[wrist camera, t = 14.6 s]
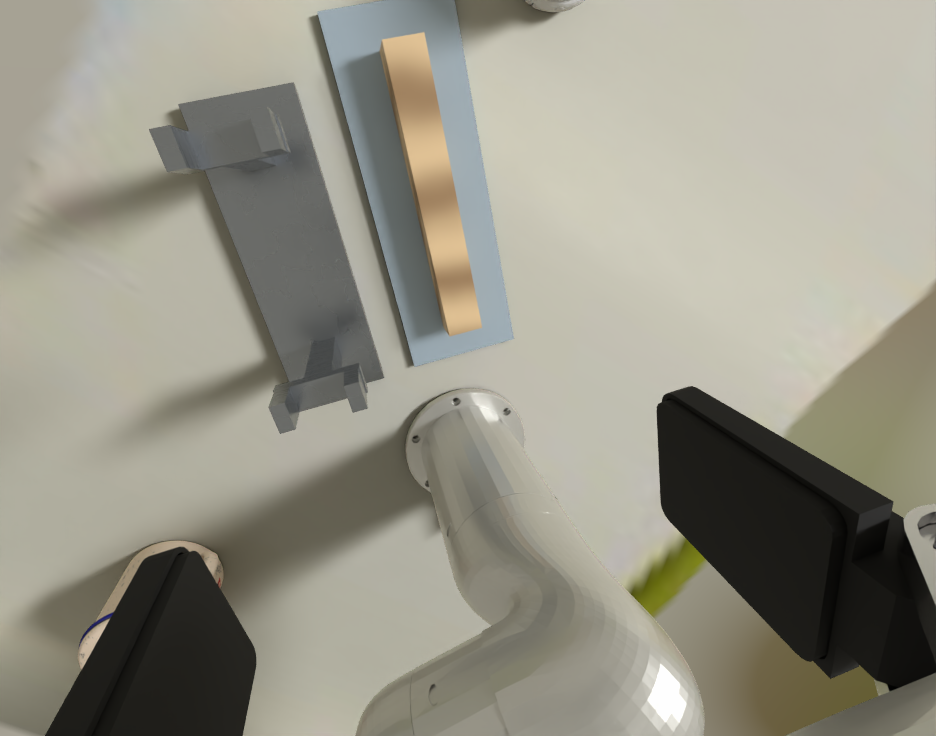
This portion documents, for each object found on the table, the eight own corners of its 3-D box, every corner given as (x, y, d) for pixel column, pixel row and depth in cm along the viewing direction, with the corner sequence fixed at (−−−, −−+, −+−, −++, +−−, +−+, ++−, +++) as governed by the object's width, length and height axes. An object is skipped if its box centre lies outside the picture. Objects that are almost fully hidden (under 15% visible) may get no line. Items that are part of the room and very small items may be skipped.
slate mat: (511, 337, 46) (513, 338, 45) (413, 364, 45) (414, 366, 44) (451, -9, 35) (452, -12, 34) (317, 14, 33) (317, 11, 33)
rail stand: (383, 373, 44) (395, 441, 32) (298, 397, 43) (279, 476, 31) (295, 85, 35) (266, 33, 23) (183, 107, 33) (93, 63, 22)
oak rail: (474, 319, 44) (482, 327, 41) (443, 327, 43) (449, 336, 41) (418, 44, 35) (424, 32, 32) (379, 51, 35) (382, 39, 32)
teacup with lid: (188, 620, 49) (144, 740, 38) (103, 583, 45) (28, 704, 35) (265, 545, 48) (241, 647, 37) (185, 500, 44) (132, 599, 34)
